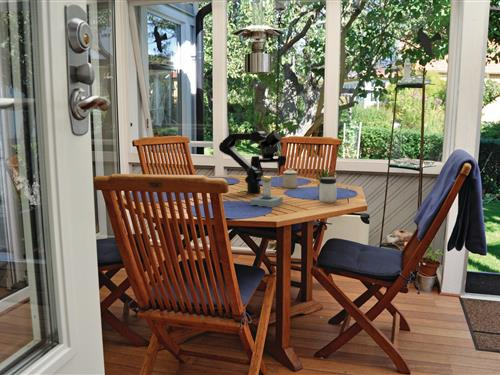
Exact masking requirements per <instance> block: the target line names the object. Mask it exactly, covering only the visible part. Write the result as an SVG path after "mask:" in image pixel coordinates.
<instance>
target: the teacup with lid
mask: <svg viewBox="0 0 500 375" xmlns="http://www.w3.org/2000/svg"><path fill="white" fill-rule="evenodd" d="M281 177H282V181H281V180H280V178H281ZM277 181H278V183H279V184H282V187H283V188H285V189H296V188H298V171H295V170H294V169H293V168H292V167H289V168H288V169H287V170H285V171H283V172H282V174H280V175H278V177H277Z"/></svg>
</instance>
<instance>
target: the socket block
mask: <svg viewBox="0 0 500 375" xmlns="http://www.w3.org/2000/svg"><path fill="white" fill-rule="evenodd" d="M283 203H284V197H282V196H272V195H271V199H270V200H266V199H263V195H260V196H256V197H254V198H251V199H250V206H252V205H258V206H257V207H262V206H267V207H266V208H274V207H277V206H279V205H283Z"/></svg>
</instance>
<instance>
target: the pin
mask: <svg viewBox="0 0 500 375" xmlns="http://www.w3.org/2000/svg"><path fill="white" fill-rule="evenodd" d="M272 180H273V176H272V175H263V176H261V181H262V196H263V199H266V200H270V199H271V196H272V195H271V192H272V191H271V190H272V187H271V186H272V184H271V183H272Z"/></svg>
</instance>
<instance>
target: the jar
mask: <svg viewBox="0 0 500 375" xmlns="http://www.w3.org/2000/svg"><path fill="white" fill-rule="evenodd" d="M319 179H320V181H319V182H318V184H319V193H318V200H319V201H320V202H321V203H334V202H337V195H338V194H337V192H338V191H337V190H338V187H337V186H338V183H337V177H336V176H335V177H333V176H331V177H322V176H321V178H320V177H319Z"/></svg>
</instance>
